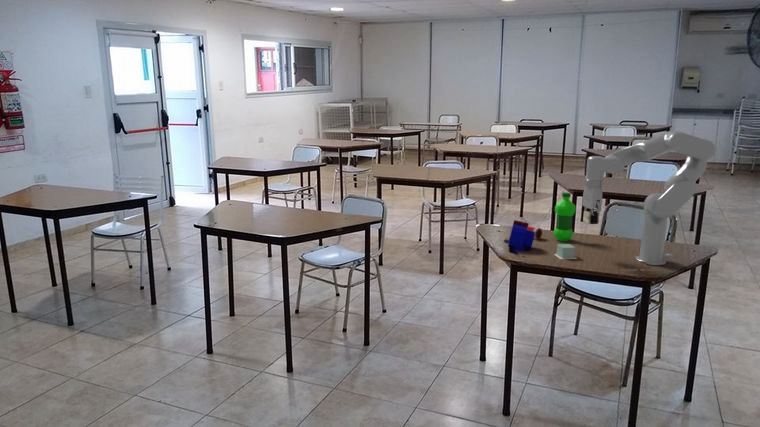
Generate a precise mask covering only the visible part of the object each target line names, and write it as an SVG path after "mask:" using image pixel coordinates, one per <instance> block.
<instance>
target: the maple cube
mask: <svg viewBox="0 0 760 427" xmlns="http://www.w3.org/2000/svg"><path fill="white" fill-rule="evenodd" d="M595 211H596V210H594V212H595ZM591 215H592V211H585V210H584V211H583V216H582V217H583V218H582V222H583V223H585V224H588V225H591V224H590V220H591ZM599 221H600V215H599V216H598V222H597V224H596V225H598V224H600V223H599Z"/></svg>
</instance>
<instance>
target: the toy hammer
mask: <svg viewBox="0 0 760 427" xmlns="http://www.w3.org/2000/svg"><path fill="white" fill-rule="evenodd" d="M527 230H530V231H534V232H535V235H534V239H533V240H540V239H541V238H542V237H543V229H542V228H541V227H532V226H529V225H528V227H527ZM509 239H510V237H509V238H505V239H504V240H503V242H504V243H505V244H508V243H509Z"/></svg>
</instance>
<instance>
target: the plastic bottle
mask: <svg viewBox="0 0 760 427" xmlns="http://www.w3.org/2000/svg"><path fill="white" fill-rule="evenodd" d="M571 197H572V196H571V192H562V193H561V198H562V199H561V200H560V201H558V202H557V203H556V205H555V206H554V214H556V222H555V223H556V224H555V228H554V230H553V236H554V238H555V239H557V241H559V242H568V241H569V240H571V239H572V238H573V236H574V231H573V228H572V226H573V225H572V224H573V216H574V215H575V213H576V211H577V210H576V209H577V208H576V204H574V203H573V202H572V201H571V200H570V198H571Z"/></svg>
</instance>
